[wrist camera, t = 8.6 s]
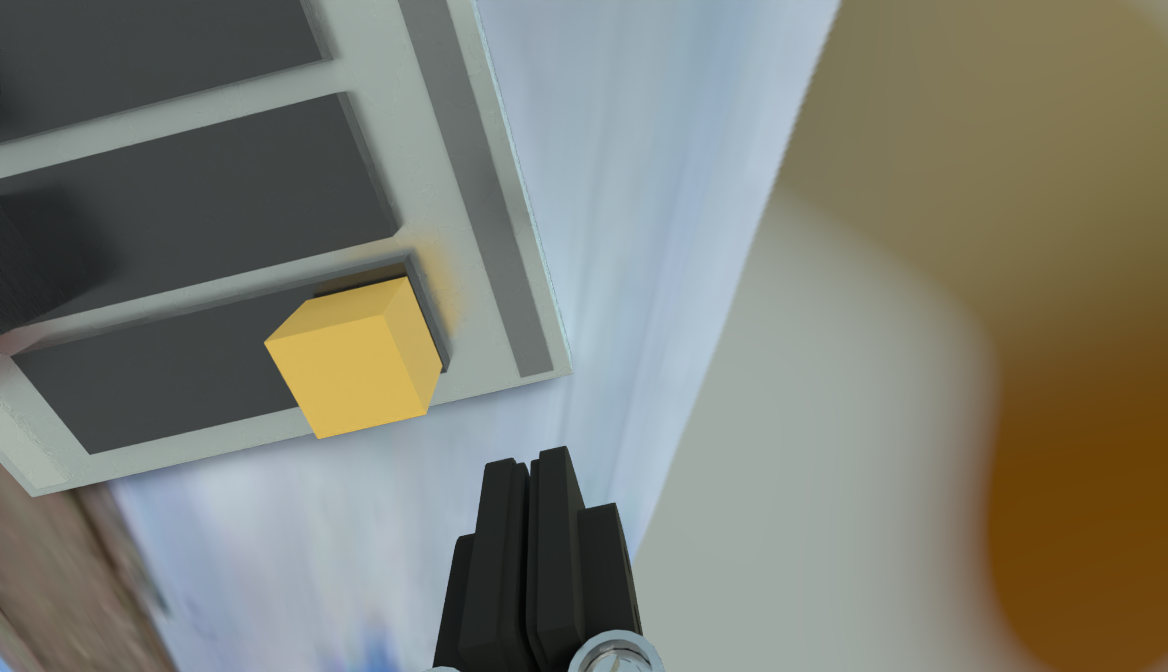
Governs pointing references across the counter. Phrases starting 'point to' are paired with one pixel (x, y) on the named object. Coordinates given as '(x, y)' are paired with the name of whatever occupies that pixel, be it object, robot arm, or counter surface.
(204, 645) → the counter surface
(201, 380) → the panel
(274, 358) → the mustard yellow cube
